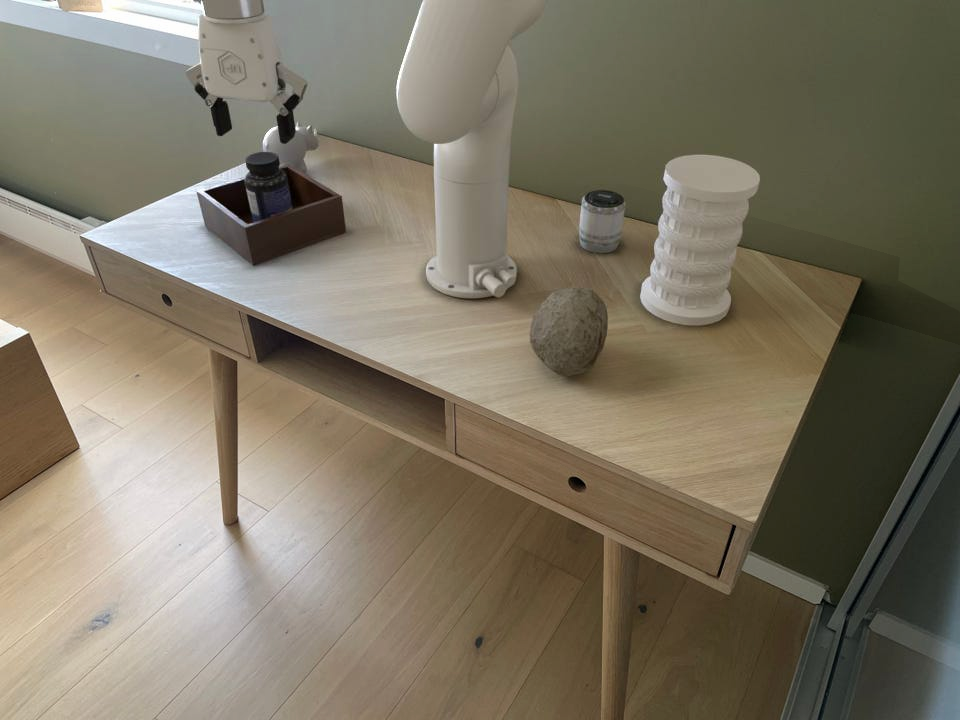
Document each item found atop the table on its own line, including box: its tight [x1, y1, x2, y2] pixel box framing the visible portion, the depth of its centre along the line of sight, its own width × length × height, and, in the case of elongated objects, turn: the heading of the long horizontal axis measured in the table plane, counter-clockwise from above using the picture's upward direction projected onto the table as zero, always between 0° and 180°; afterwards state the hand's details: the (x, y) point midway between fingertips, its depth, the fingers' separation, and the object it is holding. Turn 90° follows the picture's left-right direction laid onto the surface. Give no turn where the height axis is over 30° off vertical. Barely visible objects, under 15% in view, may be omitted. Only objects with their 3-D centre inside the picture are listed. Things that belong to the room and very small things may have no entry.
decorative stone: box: [529, 285, 609, 377], centre depth 81 cm, size 10×8×10 cm
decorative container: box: [639, 154, 761, 327], centre depth 90 cm, size 12×12×18 cm
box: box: [195, 164, 347, 266], centre depth 108 cm, size 16×16×6 cm
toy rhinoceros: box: [262, 121, 320, 174], centre depth 126 cm, size 7×12×8 cm, turn 148°
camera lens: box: [578, 189, 627, 254], centre depth 105 cm, size 6×6×8 cm
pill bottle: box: [244, 151, 293, 223], centre depth 106 cm, size 6×6×11 cm
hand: (256, 136), depth 101 cm, fingers open, 9 cm apart
